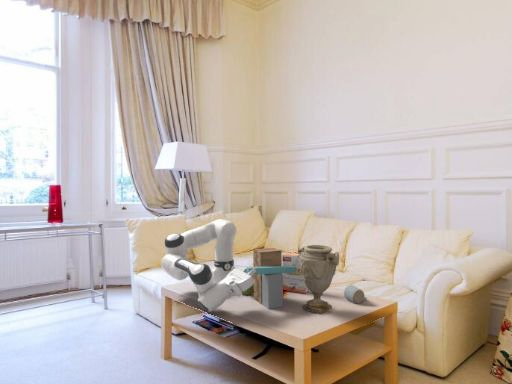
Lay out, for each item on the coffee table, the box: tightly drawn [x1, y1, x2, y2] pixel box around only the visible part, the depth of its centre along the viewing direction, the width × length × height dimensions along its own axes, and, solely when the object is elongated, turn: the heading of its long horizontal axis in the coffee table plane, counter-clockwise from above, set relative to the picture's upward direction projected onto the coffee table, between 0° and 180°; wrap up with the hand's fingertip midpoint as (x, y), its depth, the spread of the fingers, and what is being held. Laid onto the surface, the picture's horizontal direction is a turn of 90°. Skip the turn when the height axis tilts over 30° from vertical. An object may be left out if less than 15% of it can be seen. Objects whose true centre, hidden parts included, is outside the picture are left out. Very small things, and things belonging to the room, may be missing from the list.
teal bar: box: [245, 266, 296, 275], centre depth 181 cm, size 3×26×3 cm, turn 113°
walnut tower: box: [252, 247, 283, 305], centre depth 191 cm, size 9×12×26 cm
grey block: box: [261, 273, 284, 310], centre depth 182 cm, size 7×8×16 cm
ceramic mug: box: [343, 284, 368, 304], centre depth 187 cm, size 11×8×8 cm
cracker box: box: [282, 252, 310, 294], centre depth 206 cm, size 14×6×21 cm, turn 62°
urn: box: [297, 244, 340, 315], centre depth 175 cm, size 24×18×30 cm
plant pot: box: [242, 275, 254, 296], centre depth 203 cm, size 12×12×11 cm
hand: (253, 268), depth 177 cm, fingers closed on teal bar, 3 cm apart
